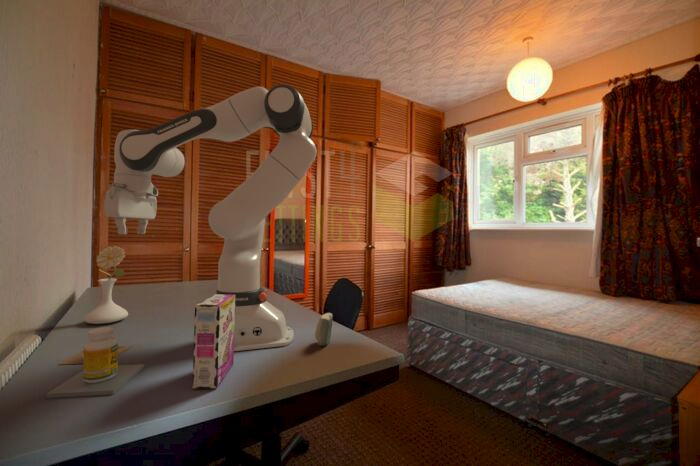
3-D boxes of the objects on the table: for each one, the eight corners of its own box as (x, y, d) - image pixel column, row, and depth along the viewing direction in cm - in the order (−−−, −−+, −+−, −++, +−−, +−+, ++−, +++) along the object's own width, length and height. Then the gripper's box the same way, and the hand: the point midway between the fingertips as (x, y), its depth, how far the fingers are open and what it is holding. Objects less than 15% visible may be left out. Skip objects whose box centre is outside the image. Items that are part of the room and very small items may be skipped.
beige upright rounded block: (337, 346, 82) (337, 316, 82) (318, 349, 80) (319, 318, 80) (330, 339, 87) (330, 311, 87) (312, 341, 85) (313, 313, 85)
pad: (144, 367, 67) (144, 364, 67) (113, 394, 56) (113, 390, 56) (89, 370, 66) (89, 366, 66) (46, 398, 55) (46, 393, 55)
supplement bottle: (86, 374, 62) (87, 328, 62) (119, 369, 65) (119, 324, 65) (80, 386, 57) (80, 336, 57) (115, 380, 60) (115, 331, 60)
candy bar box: (218, 389, 59) (219, 305, 59) (191, 390, 58) (192, 305, 58) (235, 364, 70) (236, 293, 70) (212, 364, 70) (213, 293, 70)
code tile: (132, 346, 79) (132, 345, 79) (107, 362, 69) (107, 362, 69) (89, 347, 78) (89, 347, 78) (58, 364, 68) (58, 364, 68)
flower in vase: (74, 324, 96) (75, 245, 96) (112, 315, 107) (113, 244, 107) (104, 329, 92) (105, 247, 92) (140, 319, 103) (141, 245, 103)
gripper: (123, 181, 79) (122, 234, 79) (160, 191, 99) (160, 233, 100) (96, 180, 78) (96, 234, 78) (139, 190, 99) (139, 233, 99)
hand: (132, 234), depth 89 cm, fingers open, 8 cm apart
